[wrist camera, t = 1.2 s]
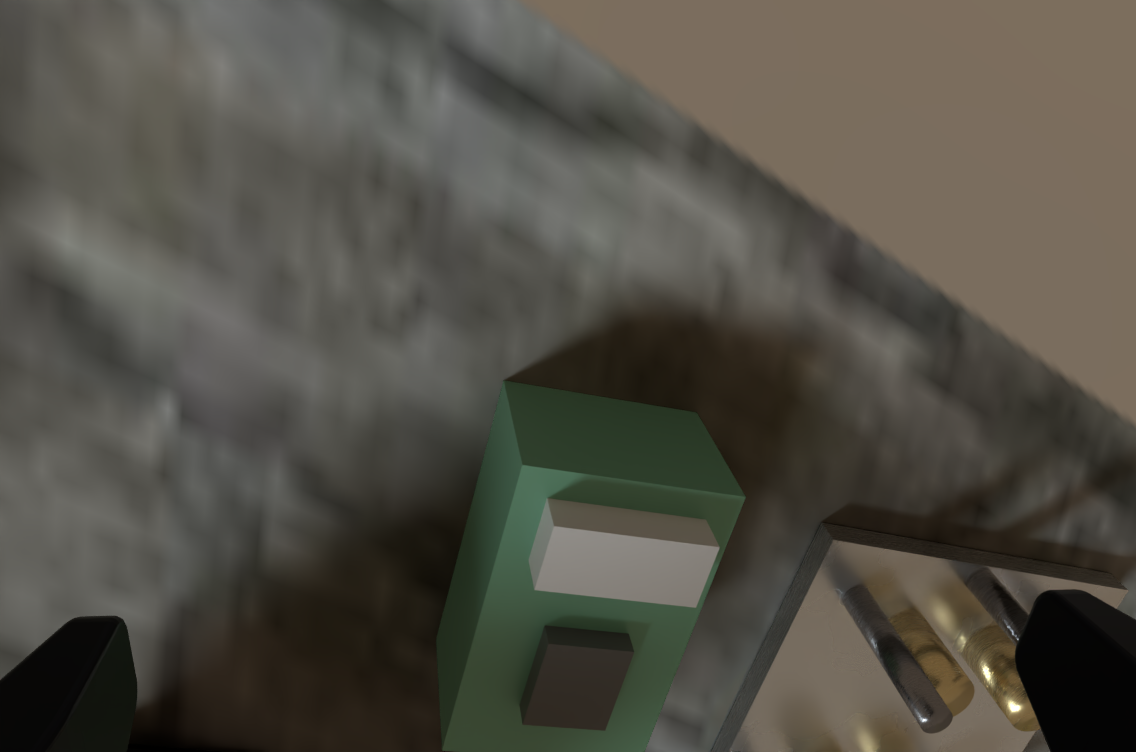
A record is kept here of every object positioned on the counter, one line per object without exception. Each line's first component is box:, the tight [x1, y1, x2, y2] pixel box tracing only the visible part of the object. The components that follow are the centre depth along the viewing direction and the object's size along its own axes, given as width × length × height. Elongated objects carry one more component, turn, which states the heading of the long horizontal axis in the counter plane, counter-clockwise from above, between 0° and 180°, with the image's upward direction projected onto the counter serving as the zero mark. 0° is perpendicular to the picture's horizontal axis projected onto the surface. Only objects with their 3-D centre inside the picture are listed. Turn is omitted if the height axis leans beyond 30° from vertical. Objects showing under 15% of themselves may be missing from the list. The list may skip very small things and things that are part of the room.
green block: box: [436, 381, 746, 752], centre depth 23 cm, size 8×5×5 cm, turn 165°
